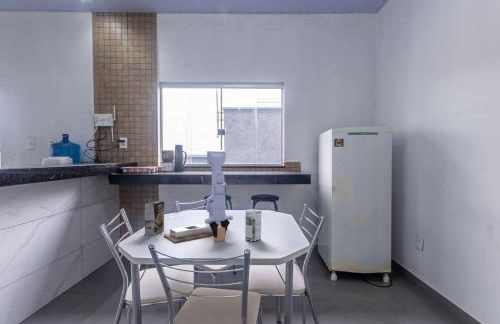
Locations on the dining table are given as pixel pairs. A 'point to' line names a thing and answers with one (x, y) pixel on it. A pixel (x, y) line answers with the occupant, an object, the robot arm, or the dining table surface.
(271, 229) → the dining table surface
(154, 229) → the coffee box
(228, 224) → the robot arm
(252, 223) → the syrup box
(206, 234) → the board
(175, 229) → the white square hole block
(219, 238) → the peg
